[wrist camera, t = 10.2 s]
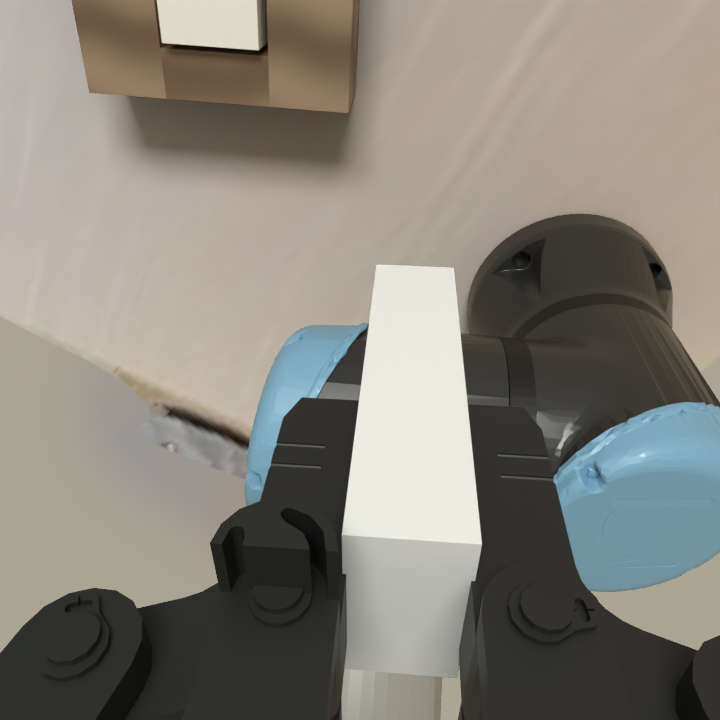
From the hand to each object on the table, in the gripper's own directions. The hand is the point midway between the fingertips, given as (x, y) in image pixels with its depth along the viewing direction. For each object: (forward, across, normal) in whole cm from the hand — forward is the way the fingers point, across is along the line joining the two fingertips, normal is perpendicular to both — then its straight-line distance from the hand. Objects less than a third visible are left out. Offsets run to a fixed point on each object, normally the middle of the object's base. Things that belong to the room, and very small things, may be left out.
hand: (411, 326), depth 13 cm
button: (+32, +12, -4) cm, 34 cm away
